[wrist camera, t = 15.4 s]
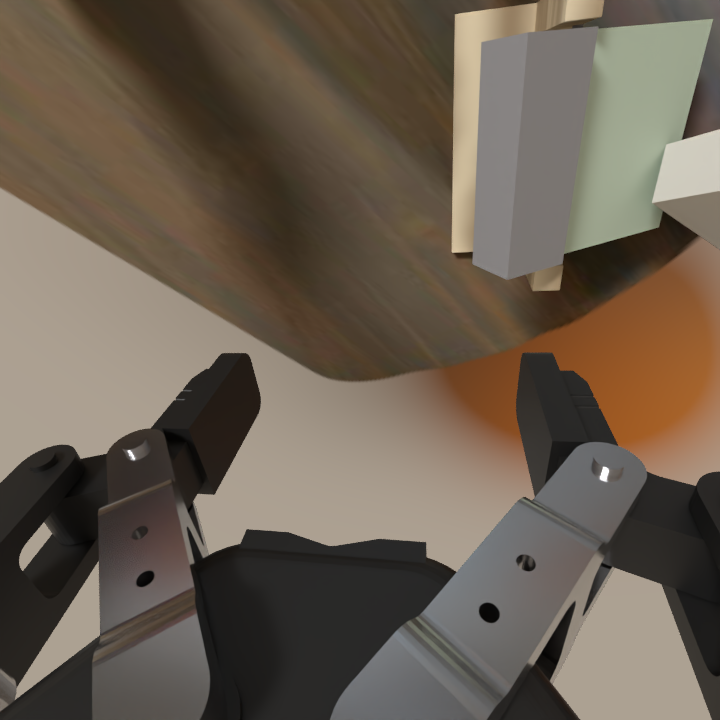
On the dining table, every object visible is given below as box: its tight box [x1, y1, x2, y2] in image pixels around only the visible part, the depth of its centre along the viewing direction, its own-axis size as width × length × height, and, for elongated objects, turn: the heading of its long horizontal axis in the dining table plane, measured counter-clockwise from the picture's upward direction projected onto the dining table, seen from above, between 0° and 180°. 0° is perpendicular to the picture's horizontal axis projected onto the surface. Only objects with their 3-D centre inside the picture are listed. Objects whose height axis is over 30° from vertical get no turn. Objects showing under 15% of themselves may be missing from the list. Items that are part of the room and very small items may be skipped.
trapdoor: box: [473, 19, 713, 280], centre depth 31 cm, size 17×15×4 cm
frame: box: [452, 0, 604, 291], centre depth 34 cm, size 8×19×11 cm, turn 6°
